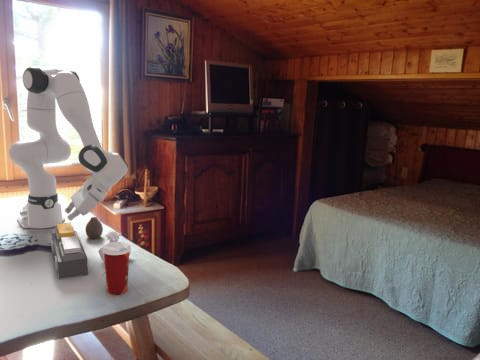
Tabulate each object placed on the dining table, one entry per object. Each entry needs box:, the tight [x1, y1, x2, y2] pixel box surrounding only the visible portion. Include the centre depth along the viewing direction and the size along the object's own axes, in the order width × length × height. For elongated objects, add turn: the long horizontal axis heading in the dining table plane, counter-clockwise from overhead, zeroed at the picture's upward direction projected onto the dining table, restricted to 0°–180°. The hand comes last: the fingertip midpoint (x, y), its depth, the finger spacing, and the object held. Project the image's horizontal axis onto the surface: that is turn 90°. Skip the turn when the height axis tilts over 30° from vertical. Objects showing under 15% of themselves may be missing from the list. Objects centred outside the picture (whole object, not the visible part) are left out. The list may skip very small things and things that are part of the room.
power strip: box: [50, 225, 89, 280], centre depth 146 cm, size 30×9×8 cm, turn 29°
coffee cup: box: [103, 241, 132, 296], centre depth 125 cm, size 8×8×15 cm
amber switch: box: [56, 222, 75, 238], centre depth 152 cm, size 12×5×2 cm, turn 29°
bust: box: [98, 230, 132, 263], centre depth 150 cm, size 12×8×11 cm
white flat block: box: [61, 236, 81, 254], centre depth 138 cm, size 12×5×2 cm, turn 29°
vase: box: [85, 216, 104, 240], centre depth 170 cm, size 7×7×9 cm
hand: (67, 215), depth 152 cm, fingers open, 8 cm apart
